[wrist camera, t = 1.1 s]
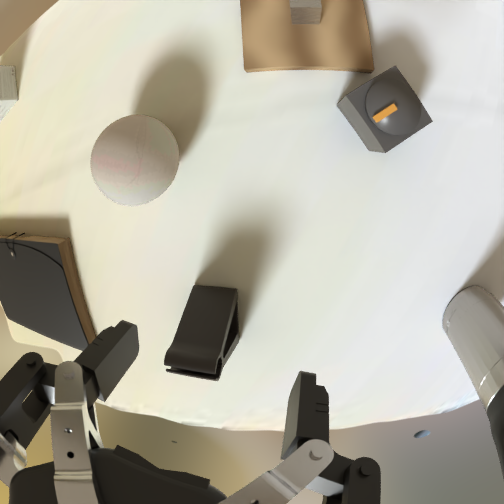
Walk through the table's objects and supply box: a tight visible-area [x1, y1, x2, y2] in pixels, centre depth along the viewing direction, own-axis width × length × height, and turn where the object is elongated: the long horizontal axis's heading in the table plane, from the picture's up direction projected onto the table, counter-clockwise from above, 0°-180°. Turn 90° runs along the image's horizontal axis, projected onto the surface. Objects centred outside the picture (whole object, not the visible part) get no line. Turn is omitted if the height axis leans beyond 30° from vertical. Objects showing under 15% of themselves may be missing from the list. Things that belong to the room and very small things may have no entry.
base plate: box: [240, 0, 374, 73], centre depth 22 cm, size 14×14×2 cm
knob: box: [337, 66, 433, 153], centre depth 23 cm, size 6×6×8 cm
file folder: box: [0, 232, 96, 351], centre depth 45 cm, size 33×4×24 cm
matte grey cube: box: [289, 0, 322, 24], centre depth 20 cm, size 3×3×4 cm
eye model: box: [91, 115, 179, 206], centre depth 28 cm, size 10×10×10 cm
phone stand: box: [164, 285, 239, 381], centre depth 34 cm, size 9×6×12 cm, turn 1°
